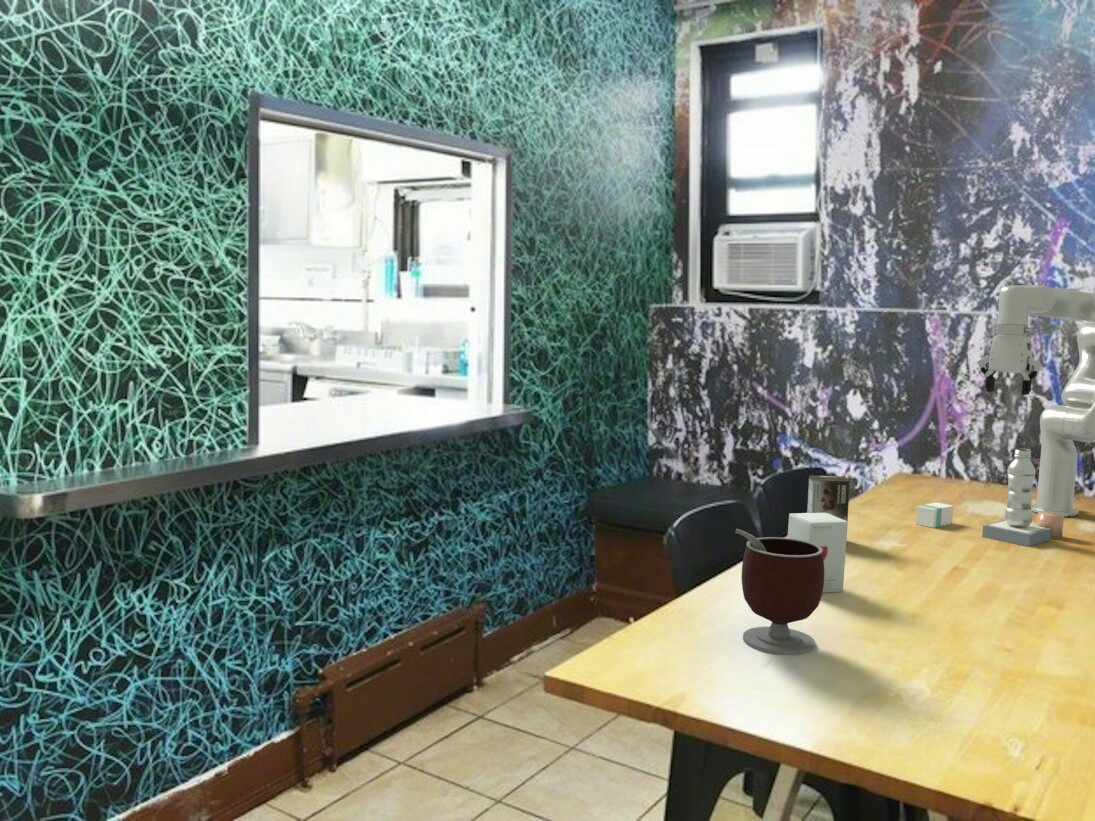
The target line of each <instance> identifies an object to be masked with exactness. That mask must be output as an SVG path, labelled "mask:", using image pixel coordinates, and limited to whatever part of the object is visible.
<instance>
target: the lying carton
mask: <svg viewBox="0 0 1095 821" xmlns="http://www.w3.org/2000/svg"><path fill="white" fill-rule="evenodd" d="M916 507H917V508H916V516H915V519H916V520H915V525H917V524H918V525H919V526H922V525H923V527H926V526H927V527H926V528H931V527H932V528H931V529H935V528H940V527H943V526H942V525H944V526H948V525H952V524H953V519H954V518H953V516H954V505H951V504H946V503H942V502H933V503H926V504H921V505H920V504H919V505H917V506H916ZM951 523H952V524H951ZM947 524H948V525H947ZM918 525H917V526H918ZM939 526H940V527H939Z"/></svg>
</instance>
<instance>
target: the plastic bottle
mask: <svg viewBox="0 0 1095 821" xmlns="http://www.w3.org/2000/svg"><path fill="white" fill-rule="evenodd" d="M1031 454H1032V450H1031V449H1026V448H1025V449H1024V448H1015V450H1014V455H1013V457H1014V459H1013V460H1012V461H1011V462H1010V464H1008V467H1007V473H1006V474H1007V482H1008V483H1007V484H1008V486H1007V487H1008V492H1007V493H1008V494H1007V502H1006V507H1005V510H1004V515H1003V516H1004V520H1005V521H1006V523H1007V524H1009V525H1013V526H1016V527H1023V526H1029V525H1032V522H1033V520H1034V518H1033V517H1034V515H1033V511H1032V509H1031V508H1032V507H1031V505H1032V494H1033V493H1032V491H1033V485H1034V481H1035V475H1036V468H1035V466H1034V463H1033V462H1032V461H1031V460H1030V458H1032V455H1031Z"/></svg>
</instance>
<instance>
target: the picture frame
mask: <svg viewBox="0 0 1095 821" xmlns="http://www.w3.org/2000/svg"><path fill="white" fill-rule="evenodd" d="M981 534H982V535H981V537H983V538H986V537H987V539H991V540H995V541H1002V542H1007V543H1010V544H1016V545H1019V546H1024V547H1028V546H1029V547H1032V545H1033V546H1036V545H1039V544H1042V543H1045V541H1046V542H1049V541H1051V539H1050V537H1051V529H1050V528H1045V527H1039V526H1037V525H1033V524H1030V525H1029V526H1023V527H1016V526H1013V525H1009V524H1007V523H1006V521H1005V519H1002V520H999V521H994V522H991V523H988V524H987V523H986V524H984V525H983V526H982V533H981ZM1035 544H1036V545H1035Z"/></svg>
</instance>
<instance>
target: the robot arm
mask: <svg viewBox="0 0 1095 821" xmlns="http://www.w3.org/2000/svg"><path fill="white" fill-rule="evenodd" d="M998 297H999V298H998V311H997V313H998V314H997V327H996V335H994V336H993V339H992V343H991V347H990V352H989V355H988V356H986V357H984V358H982V359H979V360H978V361H977V364H978V367H979V369H980V371H981V373H982V374H983V375H984V377H985V389H986V392H988V393H991V392H994V391H995V382H996V381H995V380H996V378H995V374H996V373H997V372H999V373H1000V372H1001V373H1014V374H1019V373H1020V374H1021V376H1022V377H1023V380H1022V384H1021V385H1022V386H1021V395H1022V396H1027V395H1028V396H1029V394H1030V393H1031V391H1032V381H1033V380H1034V379H1035V378H1036V377H1037V376H1038V375H1039V374H1040V372H1041V371H1042V369H1043V368H1044V365H1043V364H1042V363H1040V362H1039V361H1038V360H1037V361H1036V360H1035V359H1033V352H1032V351H1033V350H1032V341H1031V337H1030V336H1028V335H1029V334H1030V333H1033V327H1030V326H1029V315H1031V316H1038V317H1044V318H1049V319H1050V318H1051V319H1060V320H1069V321H1073V322H1075V321H1076V322H1084V323H1083V324H1082V325H1081V326H1080V327H1079V329H1077V334H1076V341H1077V350H1078V354H1079V357H1078V358H1079V359H1078V360H1079V361H1078V365H1077V366H1076V369H1074V372H1073V374H1071V377H1070V378H1069V379H1068V381H1067V383H1066V384H1065V387H1064V388H1063V390H1062V393H1061V401H1062V403H1063V405H1060V404H1056V405H1051V406H1048V407H1046V408H1045V409H1043V411H1042V412H1041V414H1040V416H1039V428H1040V434H1041V435H1040V436H1041V447H1040V449H1041V450H1040V459H1039V460H1040V461H1039V472H1038V482H1037V493H1036V504H1035V503H1034V504H1031V507H1032V508H1031V509H1032V512H1034V513H1037V514H1038V513H1039V512H1053V513H1058V514H1062V515H1064V518H1065V517H1066V518H1067V517H1068V516H1070V517H1077V516H1078V515H1079V510H1077V509H1076V508H1073V507H1074V504H1075V503H1076V501H1077V499H1076V497H1075V496H1074V495H1075V487H1076V486H1075V484H1076V478H1077V463H1078V452H1077V450H1078V449H1077V448H1076V445H1075V443H1074V441H1077V442H1085V443H1095V292H1088V291H1080V290H1074V289H1069V288H1051V287H1049V286H1047V285H1031V284H1030V285H1029V284H1028V285H1027V284H1025V285H1020V284H1019V285H1018V284H1017V285H1016V284H1015V285H1005V286H1002V287H1001V288H1000V291H999V296H998ZM987 363H988V367H989V368H988V367H986V364H987ZM1032 366H1033V367H1034V370H1033V371H1031V370H1032ZM1076 515H1077V516H1076Z"/></svg>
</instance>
